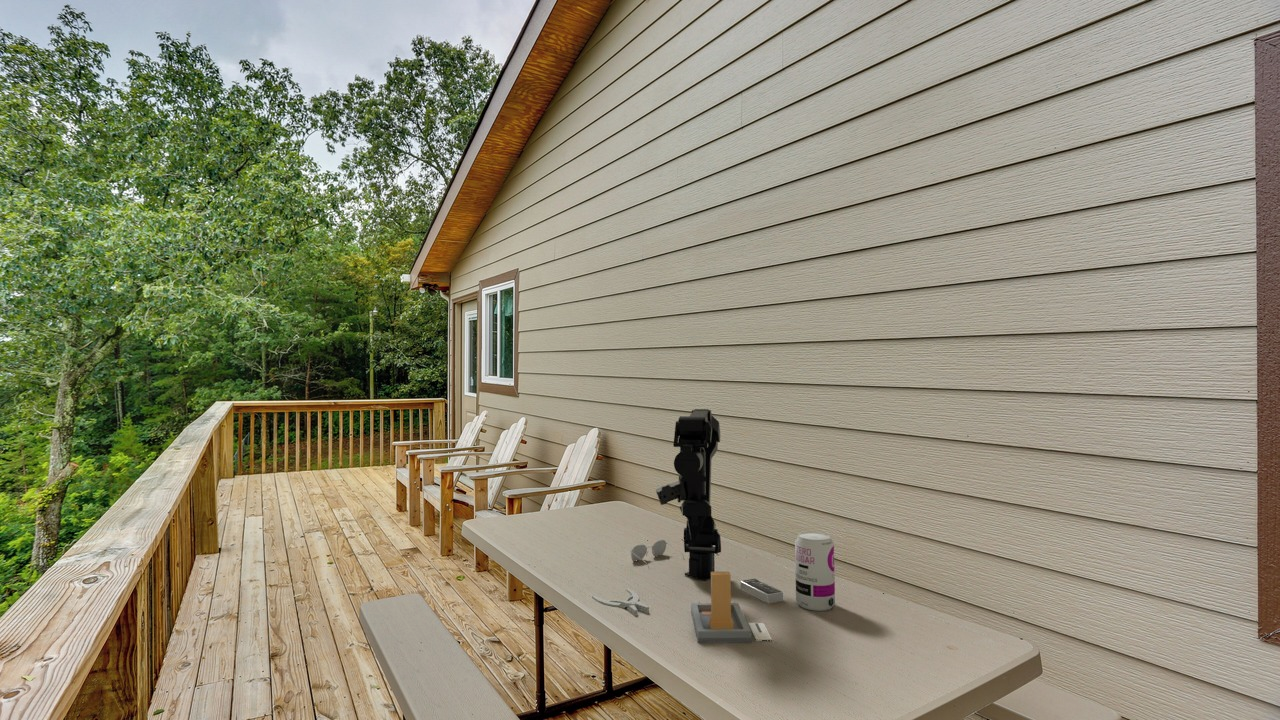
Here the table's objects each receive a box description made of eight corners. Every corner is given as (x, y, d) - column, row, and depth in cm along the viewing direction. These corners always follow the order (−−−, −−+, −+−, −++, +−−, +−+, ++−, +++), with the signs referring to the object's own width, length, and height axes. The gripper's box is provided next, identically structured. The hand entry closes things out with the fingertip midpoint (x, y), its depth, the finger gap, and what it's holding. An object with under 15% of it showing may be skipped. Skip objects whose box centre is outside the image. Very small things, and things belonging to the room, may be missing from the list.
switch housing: (691, 612, 129) (691, 603, 129) (757, 612, 129) (756, 602, 129) (698, 642, 114) (697, 631, 114) (772, 641, 114) (772, 631, 114)
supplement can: (837, 601, 136) (835, 533, 136) (832, 614, 128) (830, 542, 129) (800, 596, 139) (798, 530, 140) (793, 608, 131) (791, 538, 132)
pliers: (629, 584, 144) (662, 604, 131) (629, 591, 144) (662, 611, 131) (591, 591, 139) (621, 612, 126) (591, 598, 139) (621, 620, 126)
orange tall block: (708, 623, 121) (708, 570, 121) (731, 623, 121) (730, 570, 121) (710, 629, 118) (710, 575, 118) (733, 629, 118) (732, 575, 118)
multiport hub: (767, 605, 135) (767, 594, 135) (739, 590, 145) (739, 580, 145) (784, 602, 136) (783, 591, 137) (755, 587, 146) (755, 578, 146)
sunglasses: (665, 555, 175) (667, 538, 175) (685, 566, 169) (687, 549, 169) (628, 564, 167) (630, 546, 166) (648, 576, 160) (649, 558, 160)
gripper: (656, 466, 149) (657, 530, 148) (659, 477, 130) (659, 551, 130) (702, 465, 149) (702, 530, 148) (711, 476, 130) (712, 550, 130)
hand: (693, 540), depth 139 cm, fingers closed
